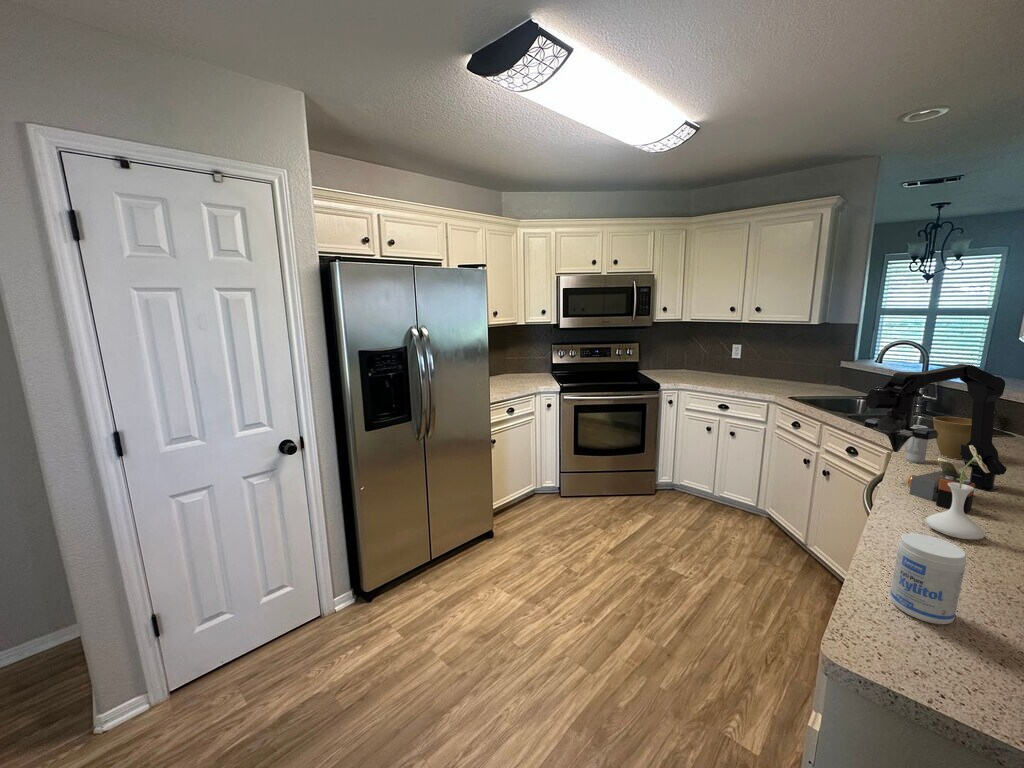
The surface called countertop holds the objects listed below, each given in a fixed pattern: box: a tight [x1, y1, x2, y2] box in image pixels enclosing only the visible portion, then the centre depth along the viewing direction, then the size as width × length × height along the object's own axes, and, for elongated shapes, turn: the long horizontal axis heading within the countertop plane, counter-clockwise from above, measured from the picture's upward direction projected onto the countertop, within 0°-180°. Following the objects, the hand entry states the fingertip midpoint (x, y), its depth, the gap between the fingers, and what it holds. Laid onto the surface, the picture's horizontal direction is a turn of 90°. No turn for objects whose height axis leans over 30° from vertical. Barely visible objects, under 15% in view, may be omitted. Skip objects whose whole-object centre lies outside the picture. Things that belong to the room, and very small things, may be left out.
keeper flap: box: [936, 457, 961, 476], centre depth 140 cm, size 7×4×1 cm
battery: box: [935, 476, 975, 514], centre depth 128 cm, size 4×7×10 cm, turn 27°
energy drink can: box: [904, 424, 929, 464], centre depth 169 cm, size 6×6×15 cm
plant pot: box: [932, 416, 972, 460], centre depth 174 cm, size 15×15×16 cm
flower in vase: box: [924, 445, 990, 540], centre depth 113 cm, size 13×11×25 cm
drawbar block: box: [909, 470, 963, 502], centre depth 139 cm, size 16×6×6 cm, turn 109°
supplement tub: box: [889, 532, 967, 625], centre depth 84 cm, size 10×10×15 cm
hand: (895, 451), depth 145 cm, fingers closed
